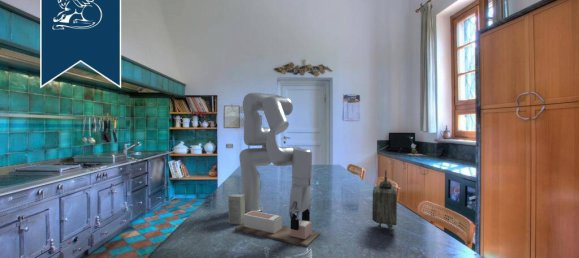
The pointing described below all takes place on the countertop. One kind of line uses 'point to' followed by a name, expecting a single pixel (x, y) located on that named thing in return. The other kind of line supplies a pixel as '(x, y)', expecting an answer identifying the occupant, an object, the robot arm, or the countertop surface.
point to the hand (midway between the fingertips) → (300, 225)
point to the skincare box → (236, 208)
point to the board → (281, 235)
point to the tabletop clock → (385, 204)
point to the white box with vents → (263, 221)
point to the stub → (302, 230)
